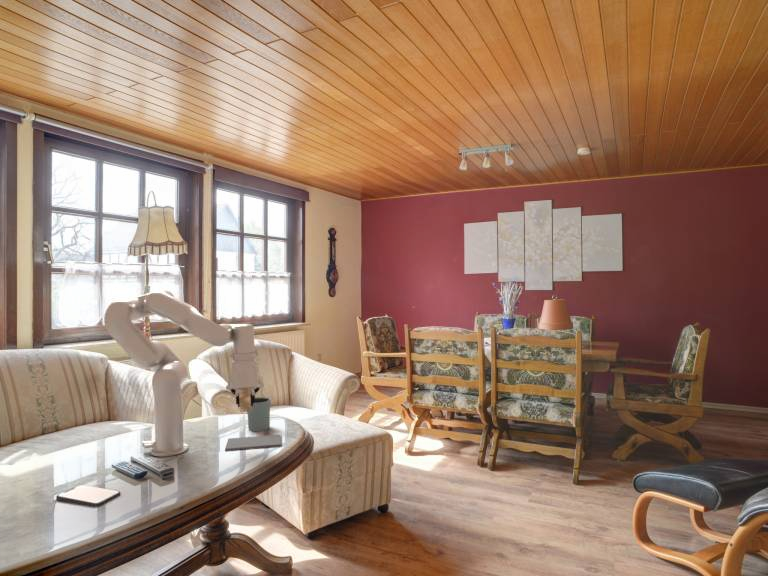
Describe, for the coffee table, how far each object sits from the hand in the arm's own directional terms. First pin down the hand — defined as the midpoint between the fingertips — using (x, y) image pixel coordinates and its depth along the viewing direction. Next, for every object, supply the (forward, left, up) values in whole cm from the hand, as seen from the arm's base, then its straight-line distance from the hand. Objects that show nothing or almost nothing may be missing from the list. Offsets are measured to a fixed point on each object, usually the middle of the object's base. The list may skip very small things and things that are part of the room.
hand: (245, 405), depth 186 cm
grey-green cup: (+4, +23, -16) cm, 28 cm away
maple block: (0, 0, -2) cm, 2 cm away
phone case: (-42, -35, -16) cm, 57 cm away
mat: (+3, +3, -15) cm, 16 cm away
